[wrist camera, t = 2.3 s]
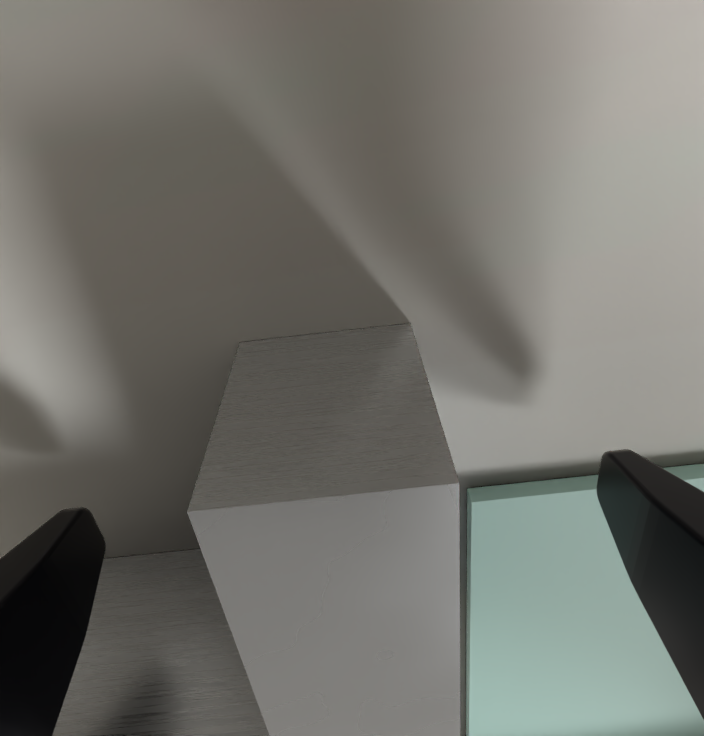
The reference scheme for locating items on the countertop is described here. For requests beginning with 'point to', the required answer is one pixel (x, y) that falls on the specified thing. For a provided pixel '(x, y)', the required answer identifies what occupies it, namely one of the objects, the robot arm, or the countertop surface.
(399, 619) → the bracket
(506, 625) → the pad
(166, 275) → the countertop surface
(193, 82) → the countertop surface
